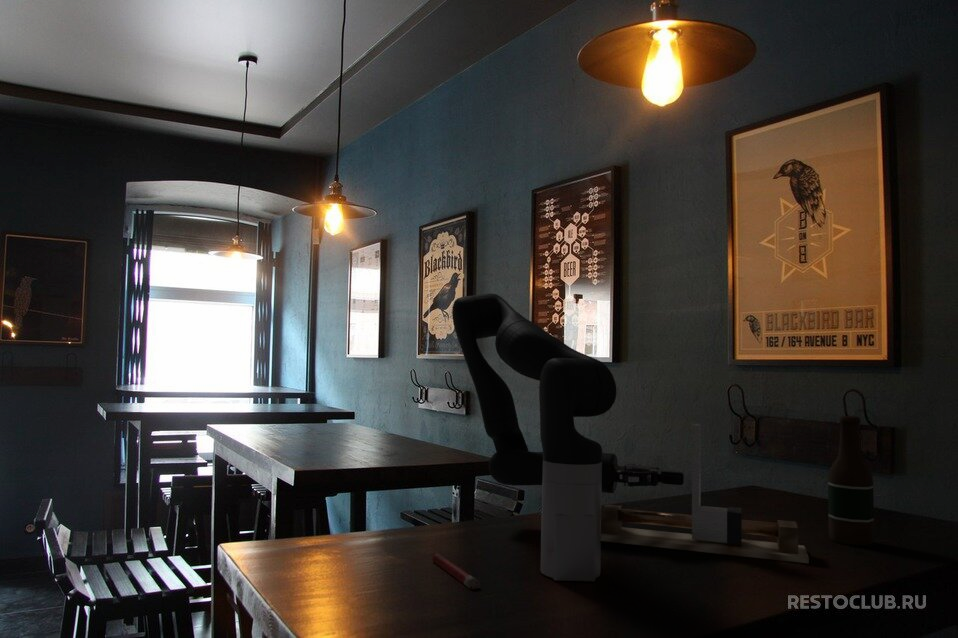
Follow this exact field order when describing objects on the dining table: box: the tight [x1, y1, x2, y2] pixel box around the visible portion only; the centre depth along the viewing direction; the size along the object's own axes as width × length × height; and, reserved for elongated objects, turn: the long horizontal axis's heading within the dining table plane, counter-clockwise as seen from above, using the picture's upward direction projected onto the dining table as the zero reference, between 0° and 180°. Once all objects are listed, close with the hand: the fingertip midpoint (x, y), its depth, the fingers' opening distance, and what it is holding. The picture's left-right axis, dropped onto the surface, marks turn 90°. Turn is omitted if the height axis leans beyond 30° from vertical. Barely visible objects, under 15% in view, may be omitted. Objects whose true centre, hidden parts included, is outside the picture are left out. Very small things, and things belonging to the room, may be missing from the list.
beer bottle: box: [827, 415, 875, 547], centre depth 137 cm, size 8×8×24 cm
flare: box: [431, 552, 481, 590], centre depth 108 cm, size 2×15×2 cm, turn 24°
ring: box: [726, 506, 743, 546], centre depth 128 cm, size 2×6×6 cm, turn 160°
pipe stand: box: [601, 504, 810, 564], centre depth 130 cm, size 37×9×5 cm, turn 70°
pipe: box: [618, 508, 779, 538], centre depth 130 cm, size 32×3×3 cm, turn 70°
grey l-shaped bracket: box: [691, 423, 728, 543], centre depth 130 cm, size 6×6×20 cm
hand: (683, 478), depth 132 cm, fingers closed
